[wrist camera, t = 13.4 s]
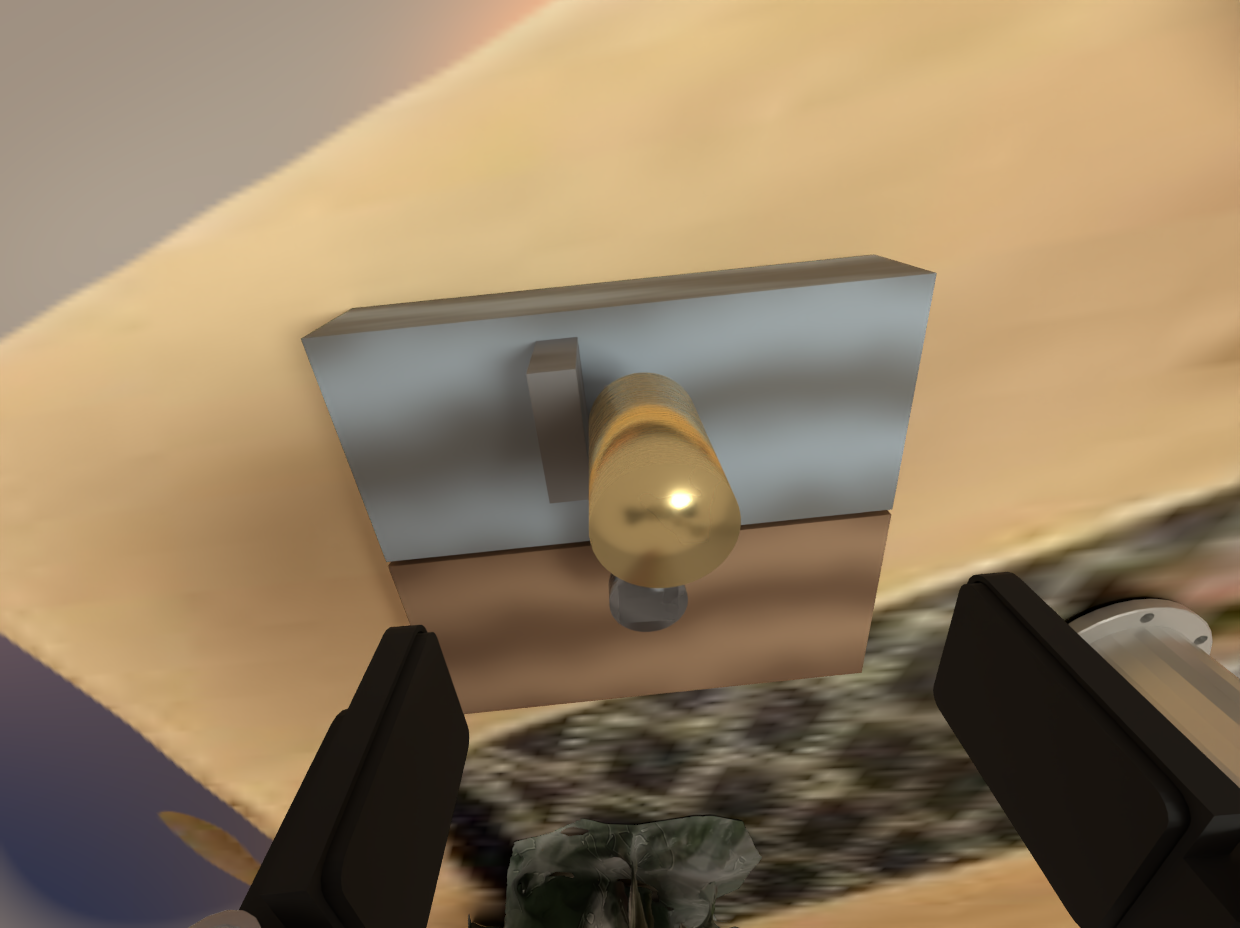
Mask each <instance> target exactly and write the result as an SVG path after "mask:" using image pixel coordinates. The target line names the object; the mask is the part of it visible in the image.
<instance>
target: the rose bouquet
mask: <svg viewBox="0 0 1240 928" xmlns="http://www.w3.org/2000/svg"><path fill="white" fill-rule="evenodd" d="M569 827H577V828H582V829H587V830H589V832H588V833H585V834H584V835H577V836H567V835H565V834H562V833H561V831H562V830H564V829H566V828H569ZM745 828H746V827H744V823H743V822H742V821H741V820H738V819H727V818H722V817H716V816H692V817H686V818H679V819H673V820H666V821H660V822H654V823H647V824H641V825H618V824H604V823H600V822H596V821H592V820H588V819H581V821H576V823H572V824H570V825H569V824H568V825H566V827H563V828H559V829H558V830H555V832H552V833H550V834H546V835H543V836H541V835H540V836H537V837H531V838H528V839H525V840H521V841H516V842H514V844H515V845H514V847H513V849H512V851H513V854H512V857H511V858H510V864H509V865H510V866H509V869H508V874H507V884H508V886H507V890H506V892H507V893H506V897H507V899H506V905H505V906H506V909H505V913H506V916H505V926H504V928H720V927H718V926H717V925H716V924H715V923H714V920H716V918H715V916H714V914H713V913H714V911H715V900H716V898H718V897H720V896H723V895H725V894H727V893H730V892H732V891H734V890H737V889H739V888H740V886H741V884H742V883H743V882H744V881H745V880H744V879H745V878H746V877H747V876H748V874H749V872H751V871H750V870H752V869H753V867H755V866H756V864H758V863H759V861H760V859H761V858H762V857H761V856H759V853H758V852H759V851H758V850H756V849H755V845H754V843H753V842H752V839H751V837H750V836H749V832H747V831H746V830H745ZM542 849H543V851H542ZM554 872H568V873H572V874H573V875H574V878H569V877H566V876H553V877H551V876H550V877H548V876H549V875H551V874H552V873H554ZM617 879H630V880H631V887H628V886H625V885H624V883H622V881H616V880H617ZM637 880H638V881H641V882H643V883H645V884H648V885H650V886H652V887H654V888H656V889H657V891H658V892H657V893H658V897H659V899H660V902H654V901H652V900H651V896H652V894H653V892H651V891H650V890H649V889H647V888H643V887H637ZM519 883H521V884H520V885H518V884H519ZM517 888H518V889H517ZM522 893H523V894H522ZM666 907H672V908H674V910H673V911H669V910H668V909H667V908H666ZM716 921H717V920H716ZM721 922H723V921H721ZM468 928H501V927H499V926H493V927H484V926H480V925H478V924H476V923H474V922H472V923H471V919H470V915H468ZM731 928H738V927H731Z"/></svg>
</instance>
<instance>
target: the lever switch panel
mask: <svg viewBox="0 0 1240 928" xmlns="http://www.w3.org/2000/svg"><path fill="white" fill-rule="evenodd" d="M936 274H937V273H935V272H931V271H928V270H925V269H921V268H918V267H914V266H911V265H908V264H904V263H901V262H898V261H894V260H891V259H888V258H884V257H881V256H877V255H866V256H856V257H846V258H837V259H827V260H817V261H808V262H798V263H788V264H779V265H769V266H759V267H749V268H740V269H730V270H720V271H711V272H701V273H691V274H682V275H672V276H662V277H652V278H643V279H633V280H623V281H614V282H604V283H594V284H584V285H575V286H565V287H555V288H546V289H536V290H526V291H517V292H507V293H497V294H487V295H478V296H468V297H458V298H449V299H439V300H429V301H420V302H410V303H400V304H390V305H381V306H371V307H361V308H352V309H350V310H349V311H347V312H345V313H344V314H342V315H340V316H339V317H337V318H335V319H333V320H332V321H330V322H328V323H327V324H325V325H323V326H322V327H320V328H318V329H316V330H315V331H313V332H311V333H310V334H308V335H306V336H305V337H303V338H301V340H302V343H303V346H304V348H305V351H306V353H307V356H308V359H309V361H310V364H311V367H312V369H313V372H314V374H315V377H316V380H317V382H318V385H319V387H320V390H321V393H322V395H323V398H324V400H325V403H326V406H327V408H328V411H329V413H330V416H331V419H332V421H333V424H334V426H335V429H336V432H337V434H338V437H339V440H340V442H341V445H342V447H343V450H344V453H345V455H346V458H347V460H348V463H349V466H350V468H351V471H352V473H353V476H354V479H355V481H356V484H357V486H358V489H359V492H360V494H361V497H362V500H363V502H364V505H365V507H366V510H367V513H368V515H369V518H370V520H371V523H372V526H373V528H374V531H375V533H376V536H377V539H378V541H379V544H380V546H381V549H382V552H383V554H384V557H385V559H386V562H391V563H390V565H389V570H390V573H391V575H392V578H393V580H394V583H395V586H396V588H397V591H398V593H399V596H400V599H401V601H402V604H403V606H404V609H405V612H406V614H407V617H408V619H409V622H410V625H411V626H412V625H423V626H424V627H425V628H426V630H427V632H434V633H435V634H436V636H437V638H438V641H439V644H440V647H441V650H442V653H443V656H444V659H445V661H446V664H447V667H448V670H449V673H450V676H451V679H452V682H453V685H454V688H455V691H456V693H457V696H458V699H459V702H460V705H461V708H462V711H463V714H470V713H480V712H490V711H499V710H509V709H518V708H528V707H537V706H547V705H556V704H566V703H575V702H585V701H595V700H604V699H614V698H623V697H633V696H642V695H652V694H661V693H671V692H681V691H690V690H700V689H709V688H719V687H728V686H738V685H747V684H757V683H766V682H776V681H786V680H795V679H805V678H814V677H824V676H833V675H843V674H852V673H861V672H862V667H863V662H864V656H865V651H866V646H867V640H868V635H869V630H870V625H871V619H872V614H873V609H874V603H875V598H876V593H877V587H878V582H879V577H880V571H881V566H882V561H883V555H884V550H885V545H886V540H887V534H888V529H889V524H890V518H891V514H890V513H889V511H888V510H890V509H892V508H893V502H894V497H895V492H896V486H897V481H898V476H899V470H900V465H901V460H902V454H903V449H904V444H905V439H906V433H907V428H908V423H909V417H910V412H911V407H912V401H913V396H914V391H915V385H916V380H917V375H918V369H919V364H920V359H921V354H922V348H923V343H924V338H925V332H926V327H927V322H928V316H929V311H930V306H931V300H932V295H933V290H934V284H935V279H936ZM634 373H656V374H660V375H663V376H666V377H668V378H670V379H672V380H674V381H675V382H677V383H678V384H679V385H681V386H682V387H683V388H684V390H685V391H686V392H687V393H688V395H689V396H690V398H691V400H692V402H693V404H694V406H695V408H696V411H697V413H698V415H699V417H700V420H701V422H702V424H703V426H704V429H705V431H706V433H707V435H708V437H709V440H710V442H711V444H712V446H713V449H714V451H715V453H716V455H717V458H718V460H719V462H720V464H721V466H722V469H723V471H724V473H725V475H726V478H727V480H728V482H729V484H730V487H731V489H732V491H733V493H734V495H735V498H736V500H737V503H738V506H739V509H740V515H741V527H740V533H739V536H738V539H737V542H736V544H735V546H734V548H733V550H732V551H731V553H730V554H729V556H728V557H727V558H726V559H725V560H724V562H723V563H721V564H720V565H719V566H718V567H717V568H716V569H715V570H713V571H712V572H711V573H709V574H707V575H706V576H704V577H702V578H700V579H698V580H696V581H694V582H691V583H688V584H685V587H686V592H687V596H688V604H687V608H686V610H685V612H684V614H683V615H682V617H681V618H680V619H679V620H678V621H677V622H675V623H674V624H672V625H671V626H669V627H667V628H664V629H661V630H658V631H652V632H639V631H634V630H630V629H628V628H626V627H624V626H622V625H621V624H619V623H618V622H617V621H616V620H615V619H614V617H613V616H612V614H611V611H610V607H609V587H608V582H609V578H610V575H611V573H610V572H609V571H608V570H607V569H606V568H605V567H604V566H603V565H602V564H601V563H600V561H599V560H598V559H597V557H596V555H595V553H594V552H593V549H592V546H591V543H590V538H589V415H590V411H591V408H592V406H593V403H594V401H595V400H596V398H597V396H598V395H599V394H600V393H601V392H602V390H603V389H604V386H605V385H609V384H611V383H612V382H613V381H615V380H617V379H619V378H621V377H624V376H626V375H630V374H634Z"/></svg>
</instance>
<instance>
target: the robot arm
mask: <svg viewBox="0 0 1240 928" xmlns="http://www.w3.org/2000/svg"><path fill="white" fill-rule="evenodd" d="M1211 646H1212V634H1211V630H1210V628H1209V626H1208V624H1207V622H1205V621H1204V620H1203V619H1202V618H1201V617H1200V616H1199V615H1197V614H1196V613H1194V612H1193V611H1192V610H1190V609H1189V608H1187V607H1185V606H1184V605H1182V604H1180V603H1176V602H1173V601H1170V600H1162V599H1140V600H1130V601H1126V602H1121V603H1116V604H1112V605H1109V606H1106V607H1103V608H1100V609H1097V610H1095V611H1092V612H1090V613H1088V614H1086V615H1083V616H1081V617H1079V618H1077V619H1075V620H1074V621H1072V622H1070V623H1068V624H1067V623H1066V622H1065V621H1064V620H1063V619H1062V618H1061V617H1060V616H1059V615H1058V614H1057V613H1056V612H1055V611H1054V610H1053V609H1052V608H1050V607H1049V606H1048V605H1047V604H1046V603H1045V602H1044V601H1043V600H1042V599H1041V598H1040V597H1039V596H1038V595H1037V594H1036V593H1035V592H1034V591H1033V590H1032V589H1031V588H1030V587H1028V586H1027V585H1026V584H1025V583H1024V582H1023V581H1022V580H1021V579H1020V578H1019V577H1018V576H1016V575H1015V574H1013V573H1010V572H1001V573H990V574H979V575H973V576H972V577H971V578H970V579H969V581H968V583H967V584H964V585H963V586H961V588H960V591H959V594H958V598H957V602H956V605H955V609H954V613H953V617H952V620H951V624H950V628H949V631H948V635H947V639H946V642H945V646H944V650H943V654H942V657H941V661H940V665H939V668H938V672H937V676H936V680H935V683H934V689H933V692H934V698H935V701H936V704H937V706H938V708H939V710H940V711H941V713H942V715H943V716H944V718H945V719H946V721H947V722H948V724H949V726H950V727H951V729H952V730H953V732H954V733H955V735H956V737H957V738H958V740H959V741H960V743H961V744H962V746H963V748H964V749H965V751H966V752H967V754H968V755H969V757H970V759H971V760H972V762H973V763H974V765H975V766H976V768H977V770H978V771H979V773H980V774H981V776H982V777H983V779H984V781H985V782H986V784H987V785H988V787H989V788H990V790H991V792H992V793H993V795H994V796H995V798H996V799H997V801H998V803H999V804H1000V806H1001V807H1002V809H1003V810H1004V812H1005V814H1006V815H1007V817H1008V818H1009V820H1010V821H1011V823H1012V825H1013V826H1014V828H1015V829H1016V831H1017V832H1018V834H1019V836H1020V837H1021V839H1022V840H1023V842H1024V843H1025V845H1026V847H1027V848H1028V850H1029V851H1030V853H1031V854H1032V856H1033V857H1034V859H1035V861H1036V862H1037V864H1038V865H1039V867H1040V868H1041V870H1042V872H1043V873H1044V875H1045V876H1046V878H1047V879H1048V881H1049V883H1050V884H1051V886H1052V887H1053V889H1054V890H1055V892H1056V894H1057V895H1058V897H1059V898H1060V900H1061V901H1062V903H1063V905H1064V906H1065V908H1066V909H1067V911H1068V912H1069V914H1070V915H1071V917H1072V918H1073V920H1074V921H1075V922H1076V923H1077V924H1078V925H1079V926H1080V927H1081V928H1240V679H1239V678H1238V677H1236V676H1235V675H1234V674H1232V673H1231V672H1230V671H1229V670H1227V669H1226V668H1225V667H1224V666H1222V665H1221V664H1220V663H1218V662H1217V661H1216V660H1215V659H1213V658H1212V657H1211V656H1209V655H1210V651H1211ZM468 747H469V729H468V725H467V723H466V720H465V717H464V714H463V711H462V708H461V705H460V702H459V699H458V696H457V693H456V691H455V688H454V685H453V682H452V679H451V676H450V673H449V670H448V667H447V664H446V661H445V659H444V656H443V653H442V650H441V647H440V644H439V641H438V638H437V636H436V634H435V633H434V632H427V630H426V628H425V627H424V626H423V625H412V626H400V627H390V628H388V629H387V630H386V632H385V633H384V635H383V637H382V639H381V641H380V643H379V645H378V647H377V649H376V651H375V653H374V656H373V658H372V660H371V662H370V664H369V666H368V668H367V670H366V672H365V674H364V676H363V679H362V681H361V683H360V685H359V687H358V689H357V691H356V693H355V695H354V697H353V699H352V701H351V704H350V706H349V708H348V709H345V710H343V711H341V712H340V713H339V714H338V715H337V716H336V718H335V719H334V721H333V722H332V724H331V726H330V728H329V730H328V732H327V734H326V736H325V738H324V740H323V742H322V744H321V746H320V748H319V750H318V752H317V754H316V756H315V758H314V760H313V762H312V764H311V766H310V768H309V770H308V772H307V774H306V776H305V778H304V780H303V782H302V784H301V786H300V788H299V790H298V792H297V794H296V796H295V798H294V800H293V802H292V804H291V806H290V808H289V810H288V812H287V814H286V816H285V818H284V820H283V822H282V824H281V826H280V828H279V830H278V832H277V834H276V836H275V838H274V840H273V842H272V844H271V847H270V849H269V851H268V853H267V855H266V856H265V858H264V861H263V863H262V865H261V867H260V869H259V871H258V873H257V875H256V877H255V879H254V881H253V883H252V885H251V887H250V889H249V891H248V893H247V895H246V897H245V899H244V901H243V903H242V905H241V907H240V909H239V910H226V911H222V912H219V913H216V914H213V915H210V916H207V917H206V918H204V919H202V920H201V921H199V922H197V923H195V924H194V925H192V926H190V927H189V928H426V927H427V923H428V919H429V914H430V910H431V906H432V901H433V897H434V893H435V889H436V884H437V880H438V876H439V872H440V867H441V863H442V859H443V855H444V850H445V846H446V842H447V837H448V833H449V829H450V825H451V820H452V816H453V812H454V808H455V803H456V799H457V795H458V791H459V786H460V782H461V778H462V773H463V769H464V765H465V761H466V756H467V752H468Z"/></svg>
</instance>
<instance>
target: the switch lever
mask: <svg viewBox="0 0 1240 928" xmlns="http://www.w3.org/2000/svg"><path fill="white" fill-rule="evenodd" d="M740 527H741V515H740V509H739V506H738V503H737V500H736V498H735V495H734V493H733V491H732V489H731V487H730V484H729V482H728V480H727V478H726V475H725V473H724V471H723V469H722V466H721V464H720V462H719V460H718V458H717V455H716V453H715V451H714V449H713V446H712V444H711V442H710V440H709V437H708V435H707V433H706V431H705V429H704V426H703V424H702V422H701V420H700V417H699V415H698V413H697V411H696V408H695V406H694V404H693V402H692V400H691V398H690V396H689V395H688V393H687V392H686V391H685V390H684V388H683V387H682V386H681V385H679V384H678V383H677V382H675V381H674V380H672V379H670V378H668V377H666V376H663V375H660V374H656V373H634V374H630V375H626V376H624V377H621V378H619V379H617V380H615V381H613V382H612V383H611V384H609V385H605V386H604V389H603V390H602V392H601V393H600V394H599V395H598V396H597V398H596V400H595V401H594V403H593V406H592V408H591V411H590V415H589V538H590V543H591V546H592V549H593V552H594V553H595V555H596V557H597V559H598V560H599V561H600V563H601V564H602V565H603V566H604V567H605V568H606V569H607V570H608V571H609V572H610V573H611V575H610V578H609V582H608V587H609V607H610V611H611V614H612V616H613V617H614V619H615V620H616V621H617V622H618V623H619V624H621V625H622V626H624V627H626V628H628V629H630V630H634V631H639V632H652V631H658V630H661V629H664V628H667V627H669V626H671V625H672V624H674V623H675V622H677V621H678V620H679V619H680V618H681V617H682V615H683V614H684V612H685V610H686V608H687V604H688V596H687V592H686V587H685V584H688V583H691V582H694V581H696V580H698V579H700V578H702V577H704V576H706V575H707V574H709V573H711V572H712V571H713V570H715V569H716V568H717V567H718V566H719V565H720V564H721V563H723V562H724V560H725V559H726V558H727V557H728V556H729V554H730V553H731V551H732V550H733V548H734V546H735V544H736V542H737V539H738V536H739V533H740Z"/></svg>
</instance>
